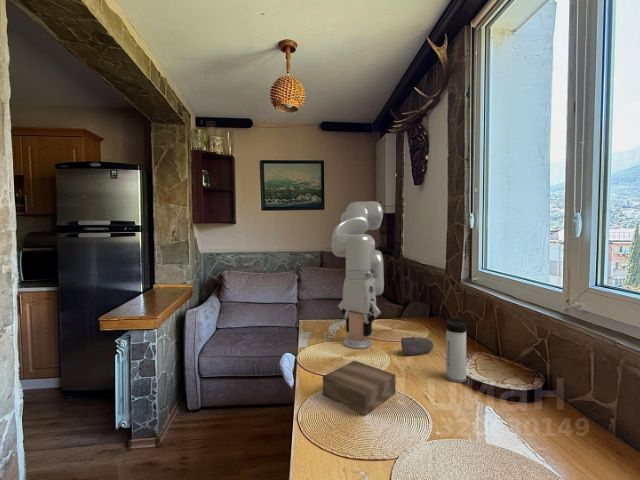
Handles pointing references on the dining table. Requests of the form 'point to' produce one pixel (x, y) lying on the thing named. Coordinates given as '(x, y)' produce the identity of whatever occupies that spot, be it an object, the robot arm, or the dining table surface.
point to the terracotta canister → (356, 326)
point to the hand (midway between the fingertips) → (358, 332)
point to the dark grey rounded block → (416, 346)
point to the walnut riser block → (359, 386)
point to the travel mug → (456, 350)
